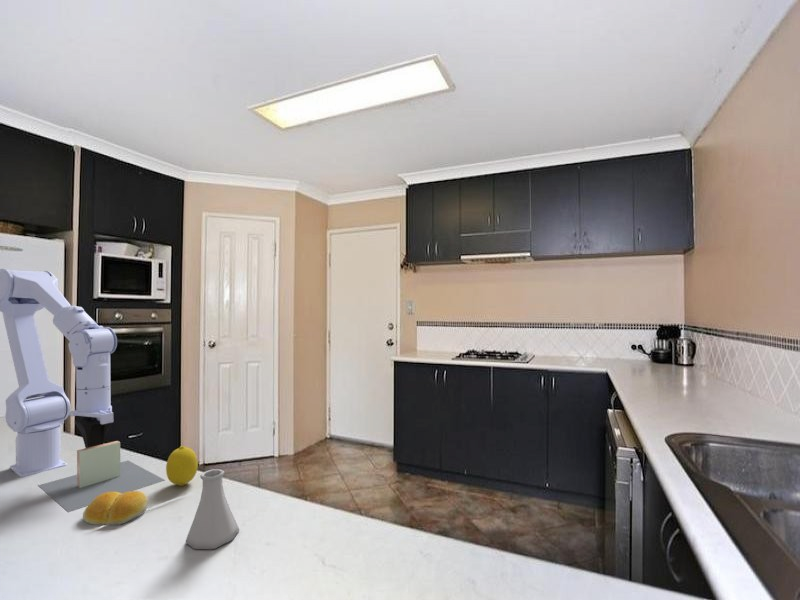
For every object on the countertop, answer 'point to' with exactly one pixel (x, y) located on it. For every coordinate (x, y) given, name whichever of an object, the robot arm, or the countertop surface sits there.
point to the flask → (212, 515)
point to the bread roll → (115, 508)
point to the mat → (98, 486)
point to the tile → (98, 463)
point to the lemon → (181, 466)
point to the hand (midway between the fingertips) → (94, 452)
